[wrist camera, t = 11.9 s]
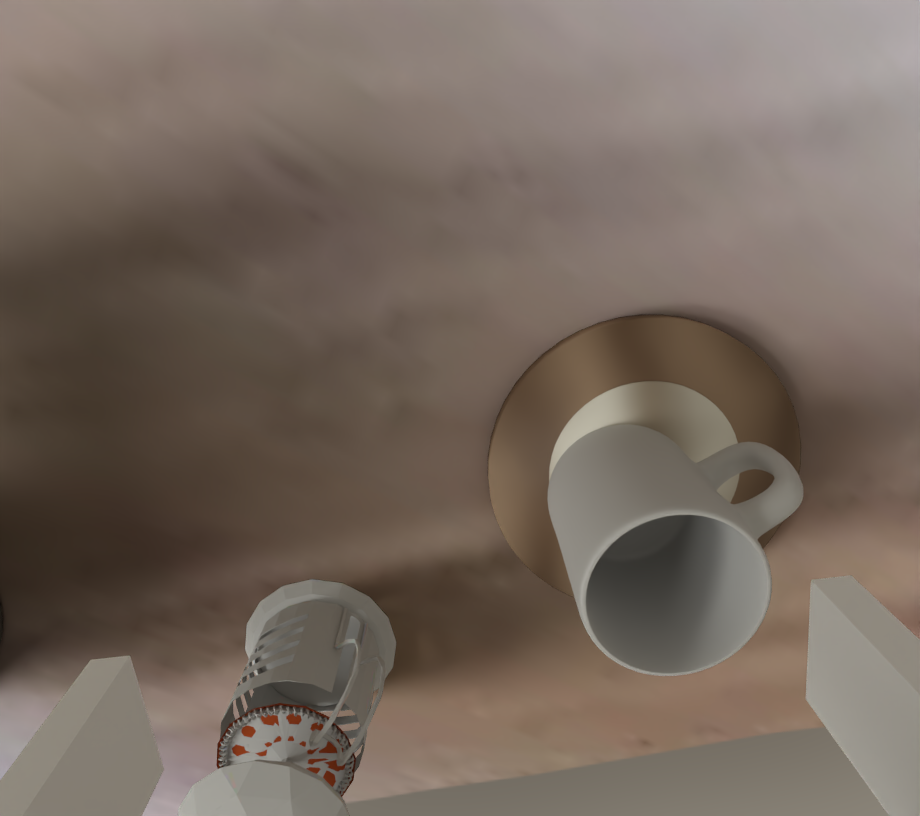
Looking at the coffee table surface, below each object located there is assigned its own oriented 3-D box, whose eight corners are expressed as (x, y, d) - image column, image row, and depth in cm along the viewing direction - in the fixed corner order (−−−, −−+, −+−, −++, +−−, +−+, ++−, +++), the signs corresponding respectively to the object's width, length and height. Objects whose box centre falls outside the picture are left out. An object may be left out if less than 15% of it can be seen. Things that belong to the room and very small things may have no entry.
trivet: (515, 618, 45) (519, 645, 42) (461, 348, 39) (461, 359, 37) (799, 569, 44) (820, 593, 41) (782, 285, 38) (805, 292, 36)
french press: (213, 650, 45) (-57, 1164, 21) (326, 530, 43) (163, 962, 19) (331, 733, 47) (204, 1287, 23) (446, 623, 45) (434, 1119, 21)
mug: (594, 581, 42) (640, 710, 32) (518, 474, 40) (539, 574, 30) (772, 477, 40) (883, 578, 30) (701, 359, 38) (794, 423, 28)
